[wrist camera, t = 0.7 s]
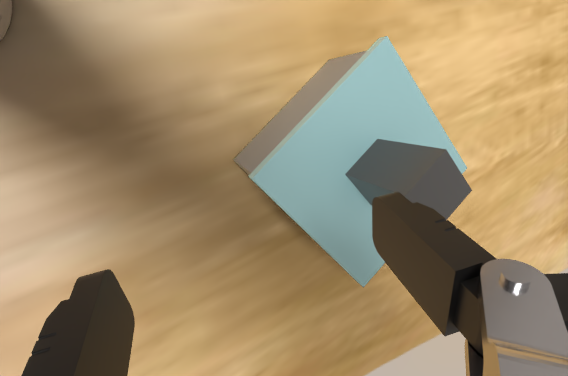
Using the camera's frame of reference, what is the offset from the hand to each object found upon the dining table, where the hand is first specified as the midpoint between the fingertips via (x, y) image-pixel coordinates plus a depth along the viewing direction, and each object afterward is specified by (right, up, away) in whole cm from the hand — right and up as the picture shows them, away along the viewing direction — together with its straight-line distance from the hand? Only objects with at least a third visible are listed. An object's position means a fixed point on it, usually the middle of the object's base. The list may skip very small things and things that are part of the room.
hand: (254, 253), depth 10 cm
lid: (+8, +4, +19) cm, 21 cm away
